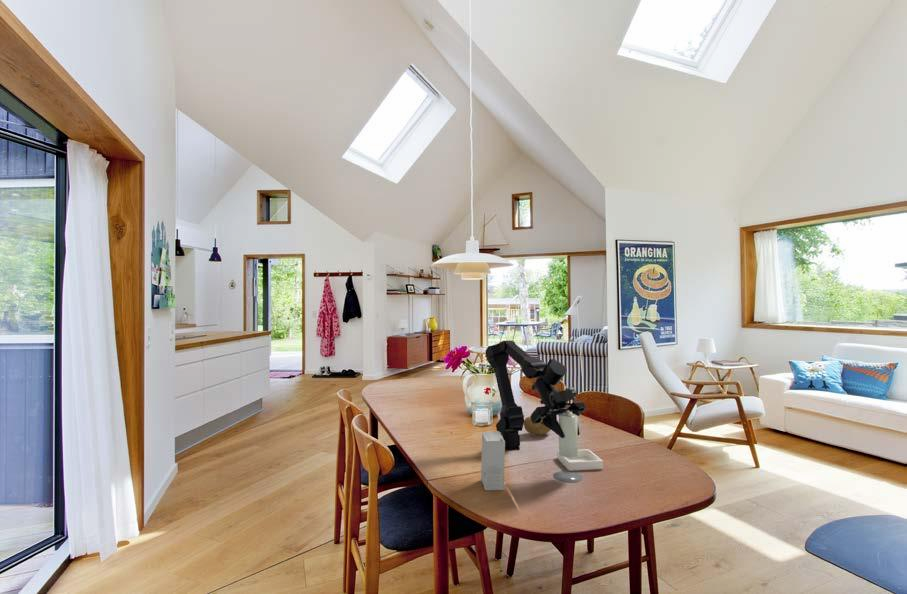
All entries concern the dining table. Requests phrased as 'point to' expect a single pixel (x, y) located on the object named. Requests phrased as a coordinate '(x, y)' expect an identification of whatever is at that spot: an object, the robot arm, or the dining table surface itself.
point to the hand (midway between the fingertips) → (571, 436)
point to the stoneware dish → (581, 461)
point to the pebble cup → (568, 434)
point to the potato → (535, 427)
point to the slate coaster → (567, 477)
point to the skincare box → (493, 461)
